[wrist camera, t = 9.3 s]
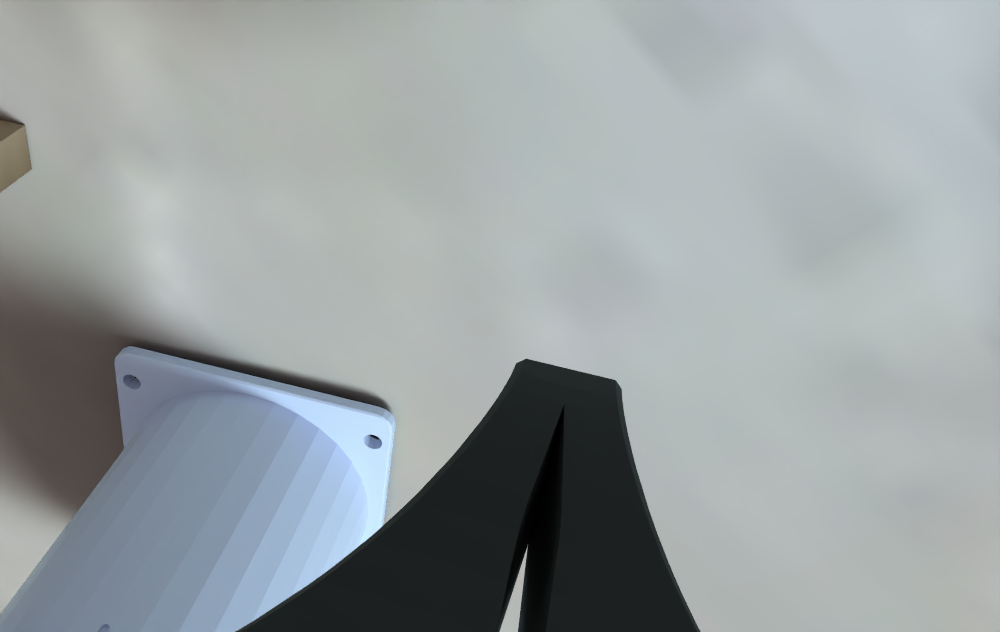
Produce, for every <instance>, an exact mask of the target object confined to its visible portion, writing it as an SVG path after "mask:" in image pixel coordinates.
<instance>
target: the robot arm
mask: <svg viewBox="0 0 1000 632" xmlns="http://www.w3.org/2000/svg"><path fill="white" fill-rule="evenodd" d="M114 365H115V374H116V383H117V391H118V400H119V409H120V418H121V427H122V436H123V444H124V450H123V451H122V452H121V454H120V455H119V456H118V458H117V459H116V460H115V462H114V463H113V464H112V466H111V467H110V468H109V470H108V471H107V472H106V474H105V475H104V477H103V478H102V479H101V481H100V482H99V483H98V485H97V486H96V487H95V489H94V490H93V491H92V493H91V494H90V495H89V497H88V498H87V499H86V501H85V502H84V503H83V505H82V506H81V507H80V509H79V510H78V511H77V513H76V514H75V515H74V517H73V518H72V519H71V521H70V522H69V523H68V525H67V526H66V527H65V529H64V530H63V531H62V533H61V534H60V535H59V537H58V538H57V539H56V541H55V542H54V543H53V545H52V546H51V547H50V549H49V550H48V551H47V553H46V554H45V555H44V557H43V558H42V559H41V561H40V562H39V563H38V565H37V566H36V567H35V569H34V570H33V571H32V573H31V574H30V575H29V577H28V578H27V579H26V581H25V582H24V583H23V585H22V586H21V587H20V589H19V590H18V591H17V593H16V594H15V595H14V597H13V598H12V599H11V601H10V602H9V603H8V605H7V606H6V607H5V609H4V610H3V611H2V613H1V614H0V632H499V631H500V628H501V625H502V622H503V619H504V616H505V613H506V610H507V607H508V604H509V601H510V598H511V595H512V592H513V588H514V585H515V582H516V579H517V576H518V573H519V570H520V567H521V564H522V561H523V558H524V555H525V552H526V549H527V546H528V550H527V558H526V567H525V576H524V584H523V593H522V602H521V611H520V620H519V628H518V632H700V630H699V628H698V626H697V624H696V622H695V620H694V618H693V616H692V614H691V612H690V610H689V608H688V606H687V603H686V601H685V599H684V597H683V595H682V593H681V591H680V588H679V586H678V584H677V582H676V579H675V577H674V575H673V572H672V570H671V568H670V565H669V563H668V560H667V558H666V555H665V553H664V550H663V547H662V545H661V542H660V540H659V537H658V534H657V532H656V529H655V526H654V523H653V520H652V517H651V515H650V512H649V509H648V506H647V502H646V499H645V496H644V493H643V489H642V486H641V483H640V479H639V476H638V473H637V469H636V466H635V462H634V458H633V454H632V450H631V446H630V441H629V437H628V432H627V427H626V422H625V416H624V410H623V402H622V389H621V388H620V386H619V385H618V383H617V382H616V380H612V379H608V378H604V377H600V376H596V375H592V374H587V373H583V372H579V371H575V370H571V369H567V368H562V367H558V366H554V365H550V364H546V363H542V362H537V361H533V360H529V359H525V360H523V361H520V362H518V363H516V365H515V368H514V370H513V372H512V374H511V376H510V378H509V380H508V382H507V384H506V385H505V387H504V389H503V390H502V392H501V393H500V395H499V396H498V398H497V400H496V401H495V402H494V404H493V405H492V407H491V408H490V409H489V411H488V412H487V414H486V415H485V416H484V418H483V419H482V421H481V422H480V423H479V424H478V425H477V427H476V428H475V429H474V430H473V432H472V433H471V434H470V435H469V437H468V438H467V439H466V440H465V442H464V443H463V444H462V445H461V447H460V448H459V449H458V450H457V451H456V453H455V454H454V455H453V456H452V457H451V458H450V459H449V461H448V462H447V463H446V464H445V465H444V466H443V467H442V468H441V469H440V470H439V471H438V472H437V473H436V474H435V475H434V477H433V478H432V479H431V480H430V481H429V482H428V483H427V484H426V485H425V486H424V487H423V488H422V489H421V490H420V491H419V492H418V493H417V494H416V495H415V496H414V497H413V498H412V499H411V500H410V501H409V502H408V503H407V504H406V505H405V506H404V507H403V508H402V509H401V510H400V511H399V512H398V513H397V514H396V515H394V516H393V517H392V518H391V519H390V520H389V521H388V522H387V523H386V524H384V516H385V507H386V499H387V491H388V482H389V474H390V466H391V457H392V449H393V440H394V432H395V419H394V417H393V416H392V414H391V413H390V412H388V411H387V410H386V409H383V408H381V407H378V406H374V405H370V404H366V403H362V402H358V401H353V400H349V399H345V398H341V397H337V396H333V395H329V394H325V393H321V392H317V391H313V390H309V389H305V388H301V387H296V386H292V385H288V384H284V383H280V382H276V381H272V380H268V379H264V378H260V377H256V376H252V375H248V374H243V373H239V372H235V371H231V370H227V369H223V368H219V367H215V366H211V365H207V364H203V363H199V362H195V361H191V360H186V359H182V358H178V357H174V356H170V355H166V354H162V353H158V352H154V351H150V350H146V349H142V348H138V347H130V346H129V347H126V348H123V349H122V351H121V352H120V353H119V354H118V355H117V356H116V358H115V362H114ZM132 375H133V376H135V377H136V378H138V379H139V380H137V379H135V378H134V377H133V376H132ZM370 435H375V436H377V437H379V438H380V439H375V438H373V437H371V436H370ZM383 524H384V525H383Z"/></svg>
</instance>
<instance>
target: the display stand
mask: <svg viewBox="0 0 1000 632" xmlns="http://www.w3.org/2000/svg"><path fill="white" fill-rule="evenodd" d="M31 169H32V168H31V162H30V155H29V149H28V142H27V136H26V130H25V125H21V124H17V123H12V122H8V121H4V120H0V192H2V191H3V190H4V189H6V188H7V187H8V186H10V185H11V184H12V183H14V182H15V181H16V180H18V179H19V178H20V177H22V176H23V175H24V174H26V173H27V172H29V171H30V170H31Z"/></svg>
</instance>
